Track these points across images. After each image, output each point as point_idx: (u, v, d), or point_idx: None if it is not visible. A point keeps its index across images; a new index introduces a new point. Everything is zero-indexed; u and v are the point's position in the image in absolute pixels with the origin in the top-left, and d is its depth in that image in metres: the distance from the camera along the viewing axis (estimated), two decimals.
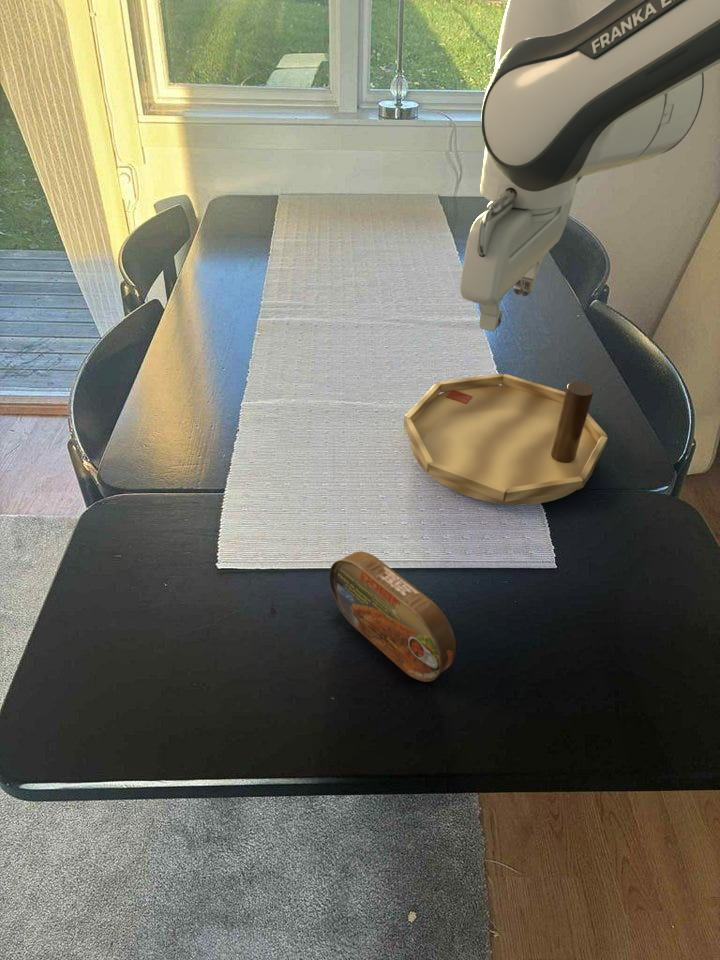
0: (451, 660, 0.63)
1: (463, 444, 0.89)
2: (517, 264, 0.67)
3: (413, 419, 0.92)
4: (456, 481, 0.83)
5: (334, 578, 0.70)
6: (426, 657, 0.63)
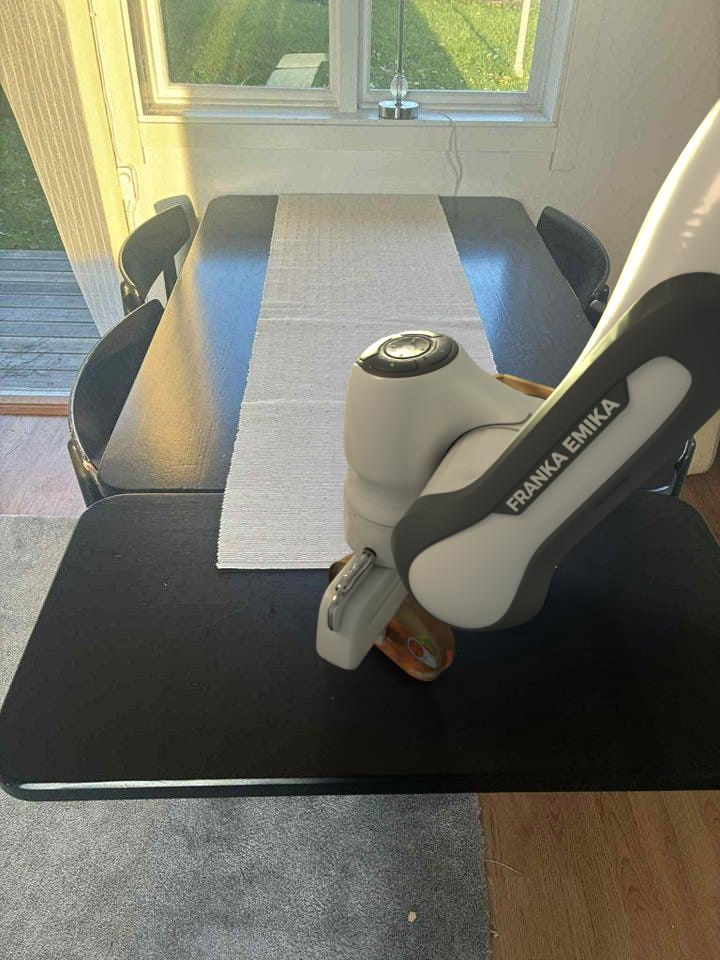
0: (451, 660, 0.63)
1: None
2: (384, 614, 0.59)
3: None
4: None
5: (333, 578, 0.70)
6: (425, 657, 0.63)
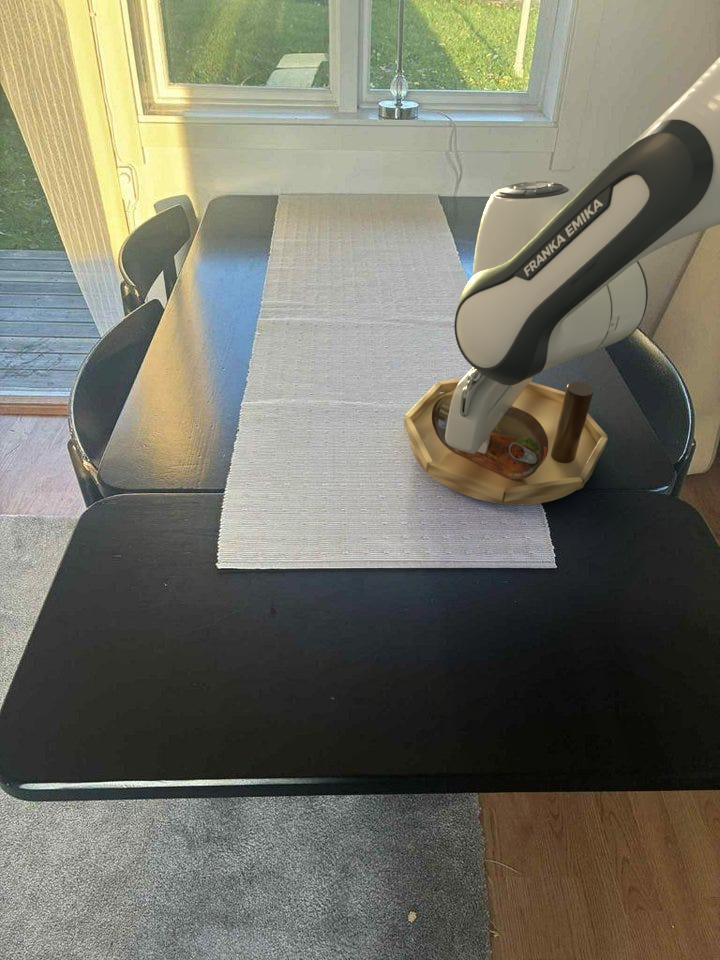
0: (545, 456, 0.81)
1: None
2: (495, 414, 0.76)
3: (413, 419, 0.92)
4: (455, 481, 0.83)
5: (435, 415, 0.87)
6: (526, 456, 0.81)
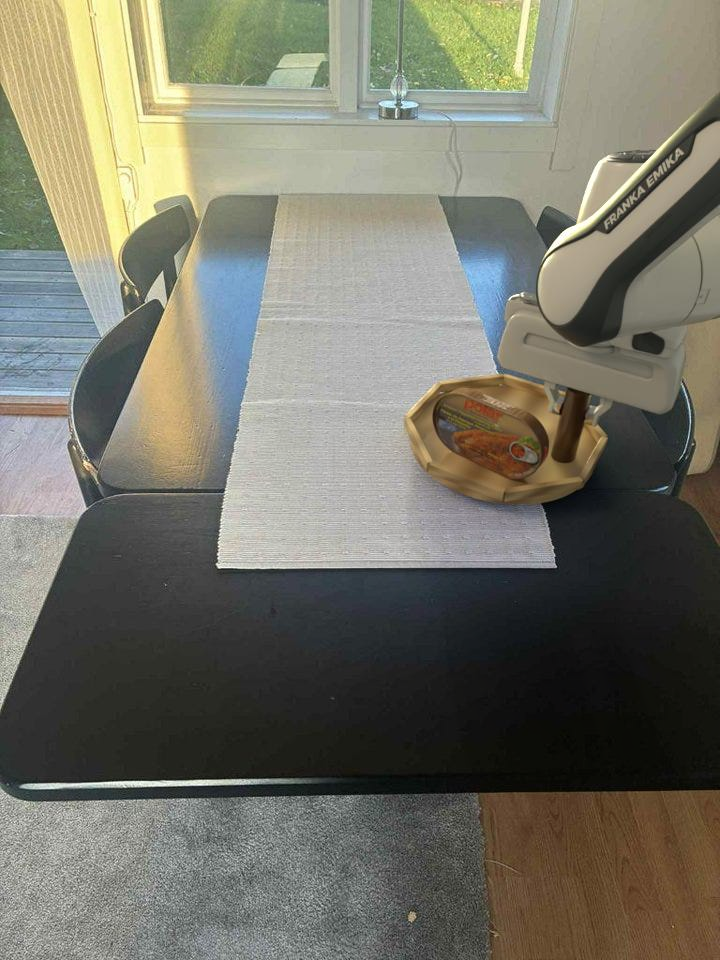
0: (546, 456, 0.81)
1: None
2: (541, 360, 0.79)
3: (413, 419, 0.92)
4: (455, 481, 0.83)
5: (436, 415, 0.87)
6: (526, 455, 0.81)
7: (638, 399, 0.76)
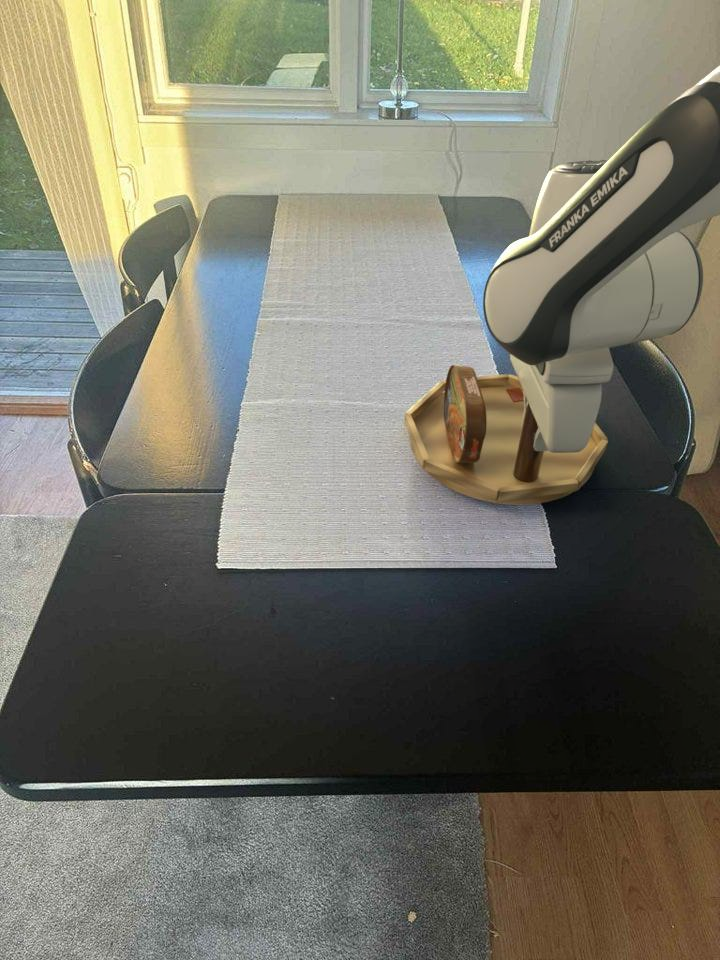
0: (476, 450, 0.81)
1: None
2: (520, 360, 0.80)
3: None
4: (411, 437, 0.89)
5: (448, 384, 0.92)
6: (462, 441, 0.83)
7: (542, 427, 0.72)
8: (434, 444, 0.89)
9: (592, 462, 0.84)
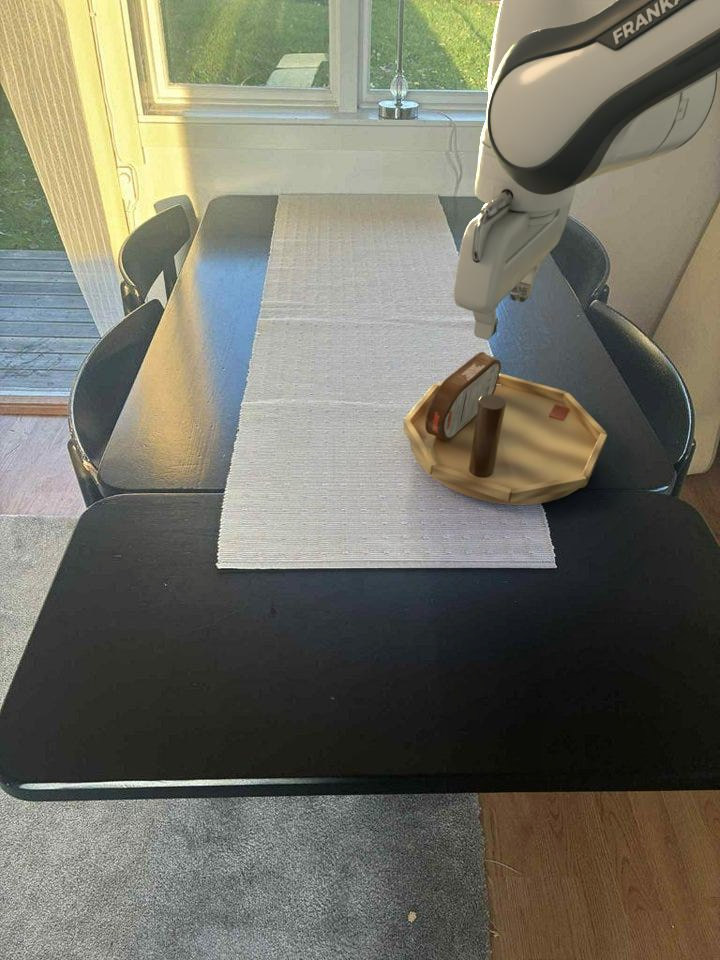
0: (437, 424, 0.85)
1: None
2: (513, 269, 0.63)
3: (505, 383, 0.99)
4: None
5: None
6: None
7: (552, 242, 0.72)
8: None
9: (545, 485, 0.81)
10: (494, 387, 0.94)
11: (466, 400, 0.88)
